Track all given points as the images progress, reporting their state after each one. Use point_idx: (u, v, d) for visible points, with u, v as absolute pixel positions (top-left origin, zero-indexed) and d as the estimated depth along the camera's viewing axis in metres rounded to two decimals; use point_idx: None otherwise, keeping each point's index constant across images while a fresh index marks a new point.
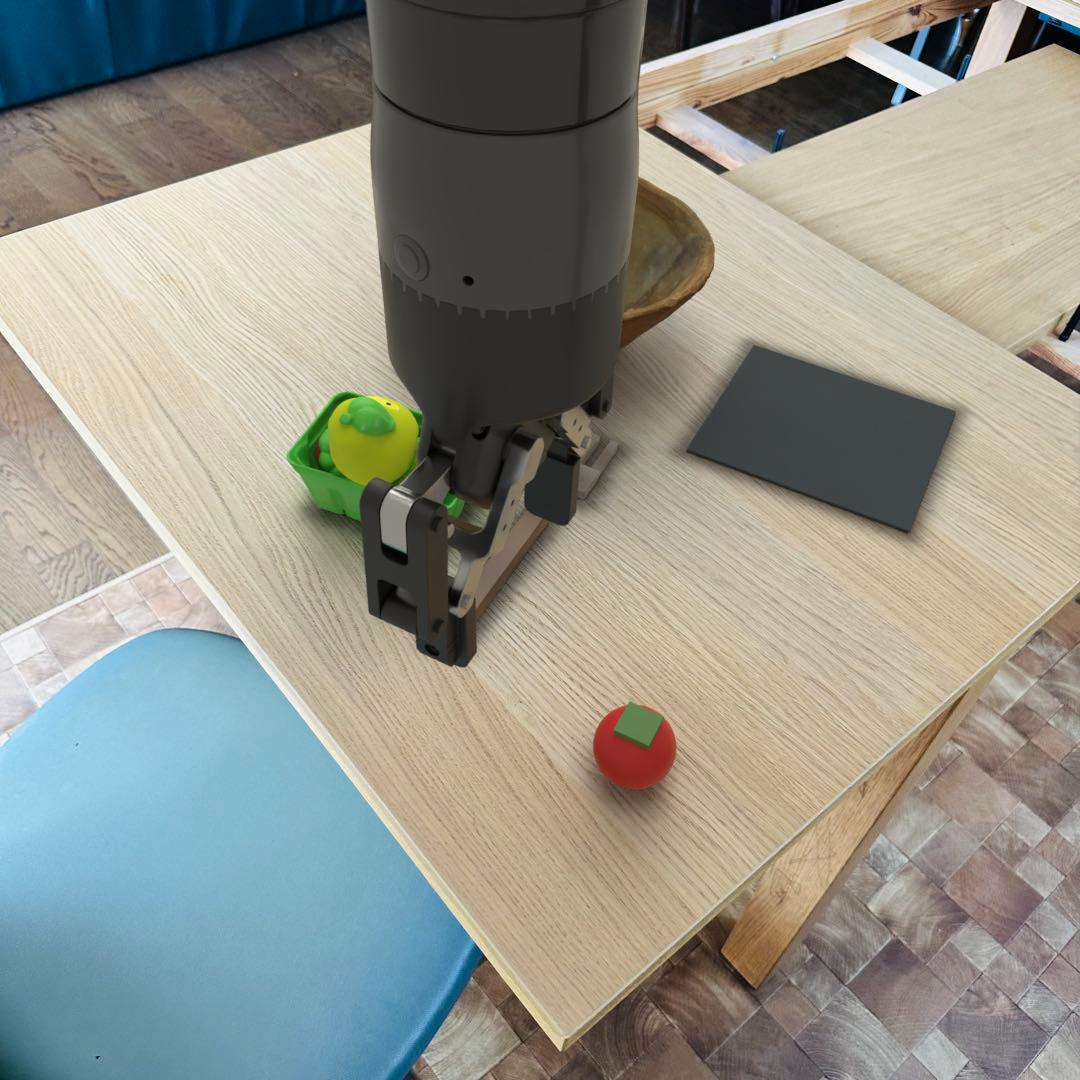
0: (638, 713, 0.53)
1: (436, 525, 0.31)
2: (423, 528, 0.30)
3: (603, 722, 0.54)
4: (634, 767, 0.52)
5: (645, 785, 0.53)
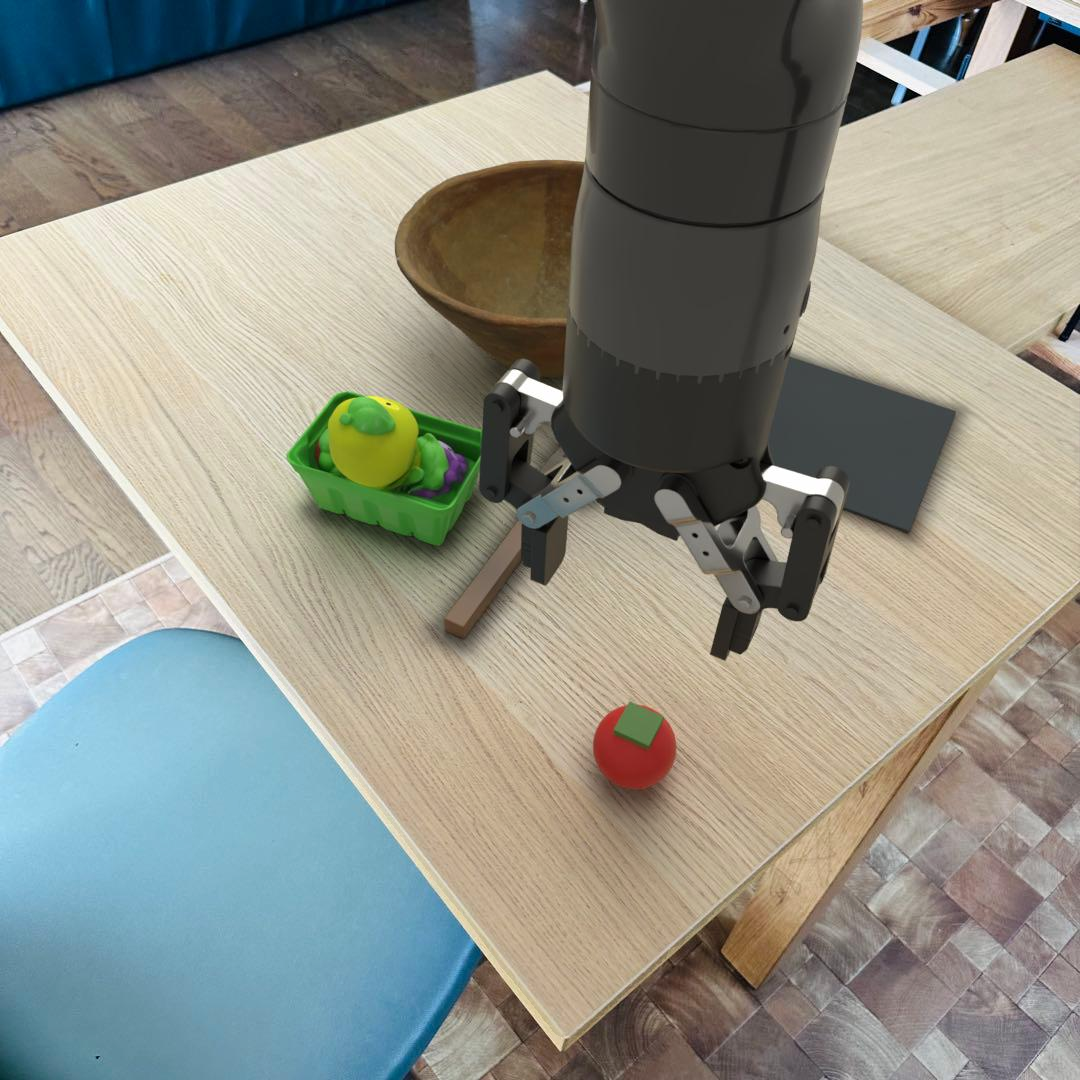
0: (638, 713, 0.53)
1: (491, 402, 0.39)
2: None
3: (603, 722, 0.54)
4: (634, 767, 0.52)
5: (645, 785, 0.53)
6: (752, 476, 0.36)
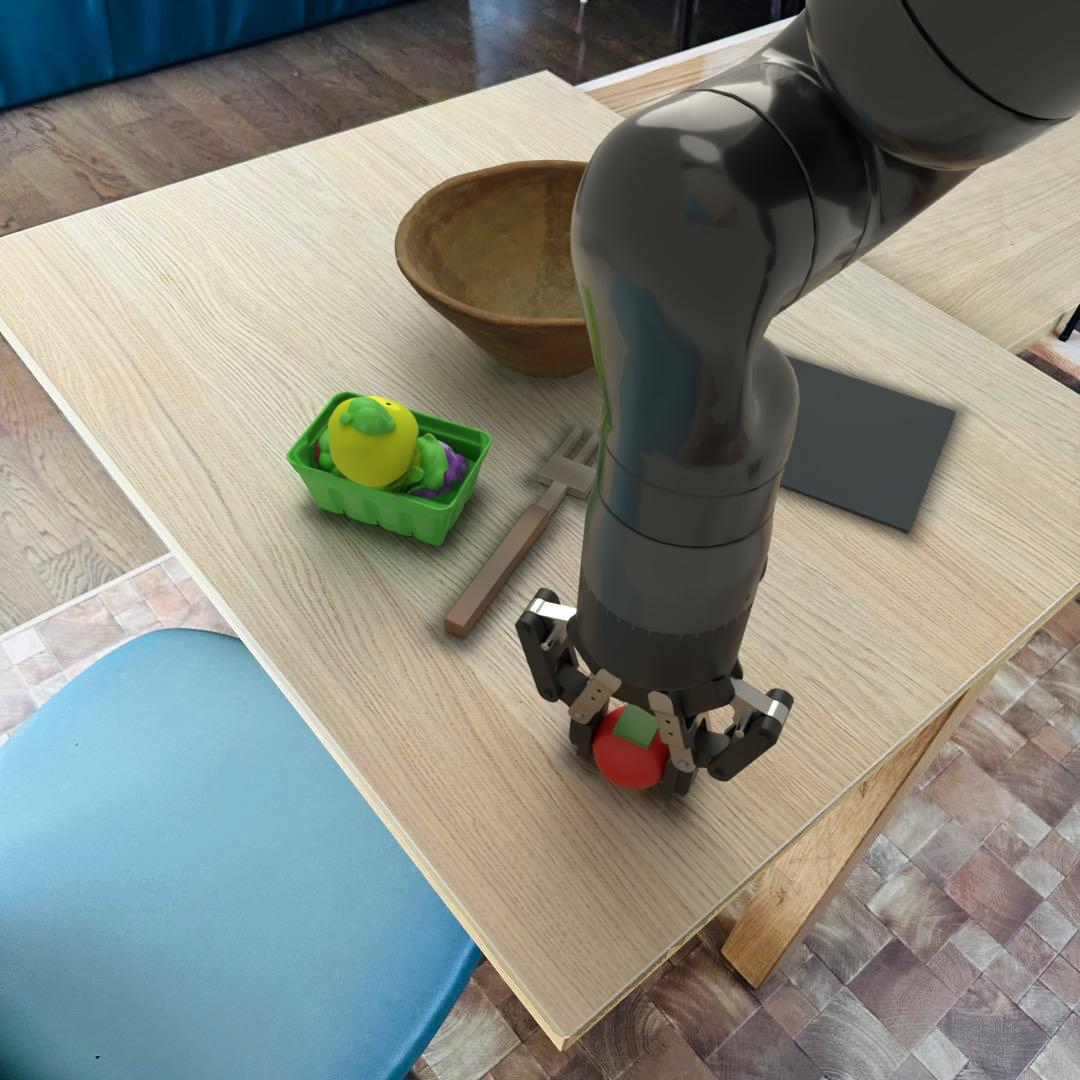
0: (638, 713, 0.53)
1: (520, 628, 0.50)
2: None
3: (602, 723, 0.54)
4: (633, 767, 0.52)
5: (645, 785, 0.53)
6: (729, 692, 0.46)
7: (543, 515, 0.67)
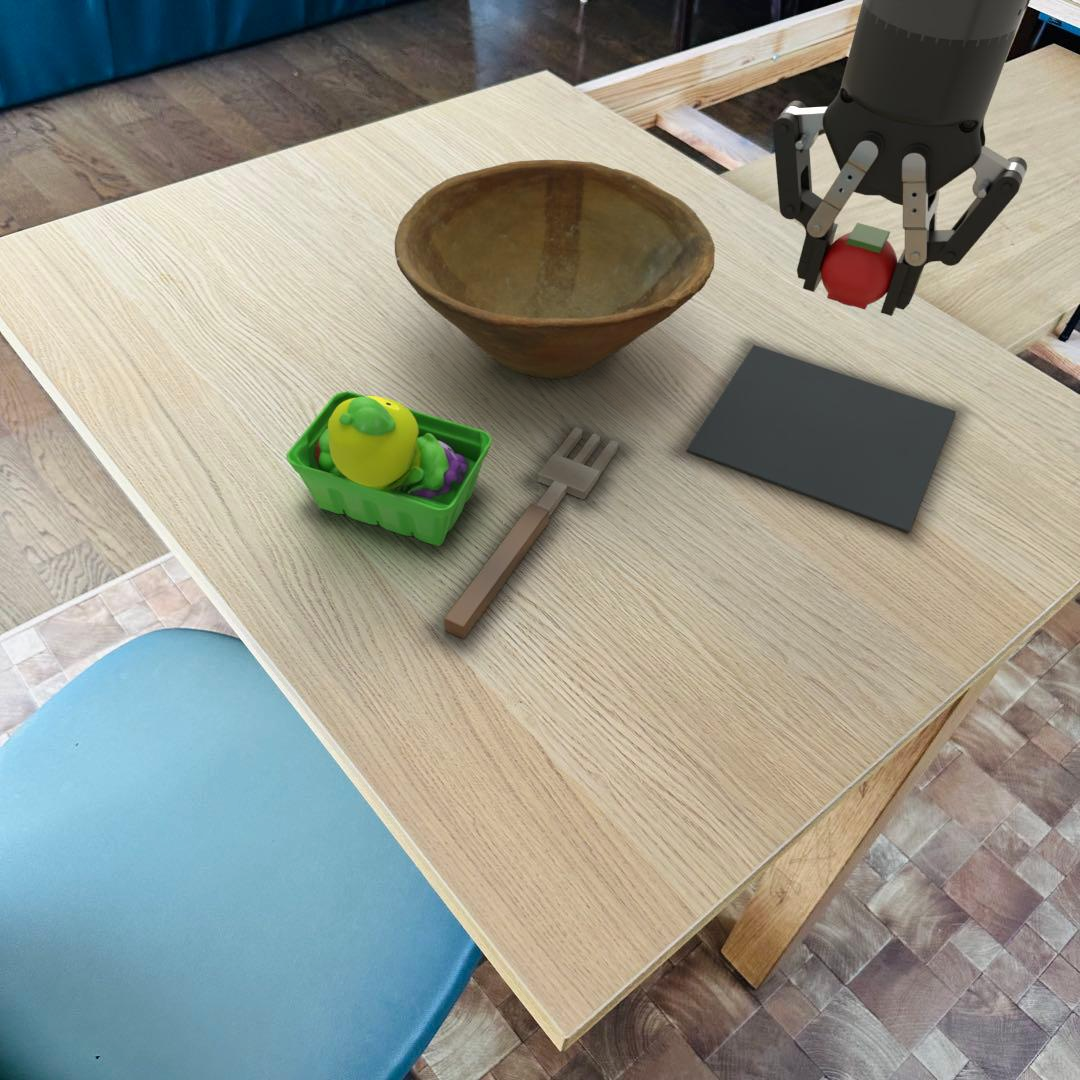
0: (867, 229, 0.60)
1: (778, 126, 0.57)
2: None
3: (832, 244, 0.61)
4: (866, 270, 0.59)
5: (873, 293, 0.60)
6: (978, 146, 0.53)
7: (543, 515, 0.67)
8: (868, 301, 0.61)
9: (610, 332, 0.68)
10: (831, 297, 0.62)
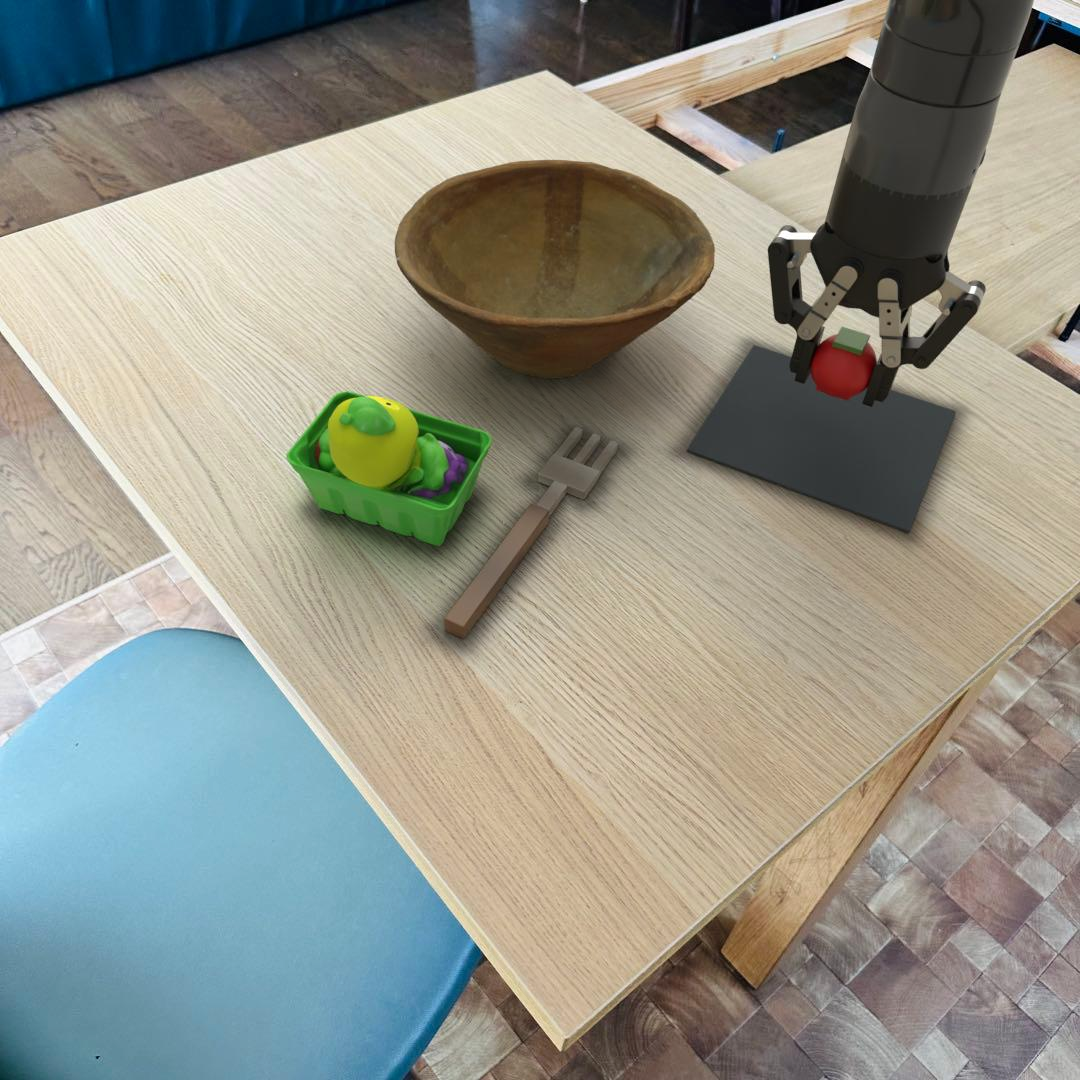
0: (850, 333, 0.69)
1: (772, 249, 0.66)
2: None
3: (820, 345, 0.70)
4: (849, 370, 0.68)
5: (855, 388, 0.69)
6: (942, 273, 0.62)
7: (543, 515, 0.67)
8: (851, 394, 0.70)
9: (610, 332, 0.68)
10: (819, 389, 0.71)
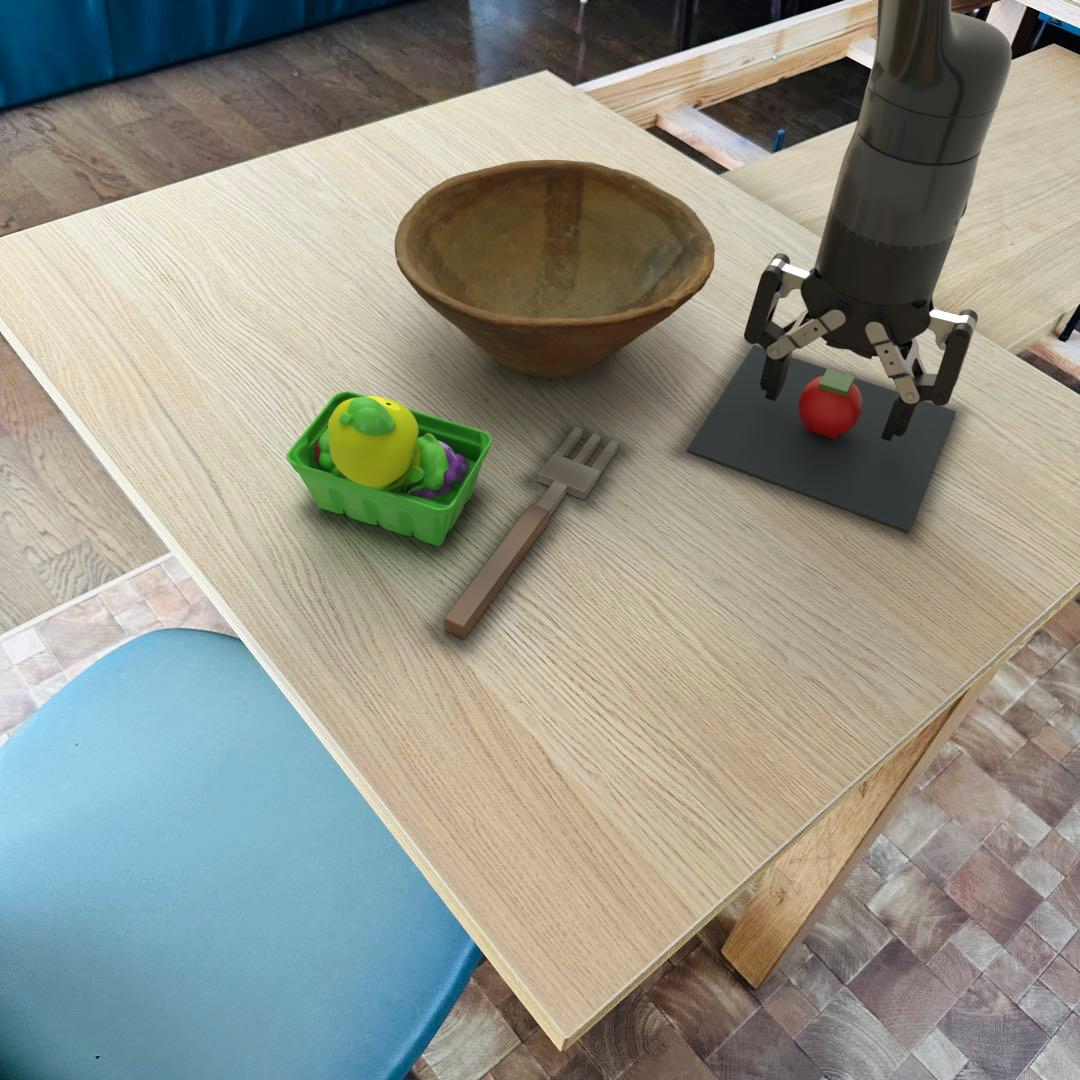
0: (835, 374, 0.72)
1: (766, 276, 0.67)
2: None
3: (807, 386, 0.73)
4: (835, 410, 0.71)
5: (841, 428, 0.72)
6: (924, 312, 0.64)
7: (543, 515, 0.67)
8: (838, 433, 0.73)
9: (610, 332, 0.68)
10: (807, 429, 0.74)
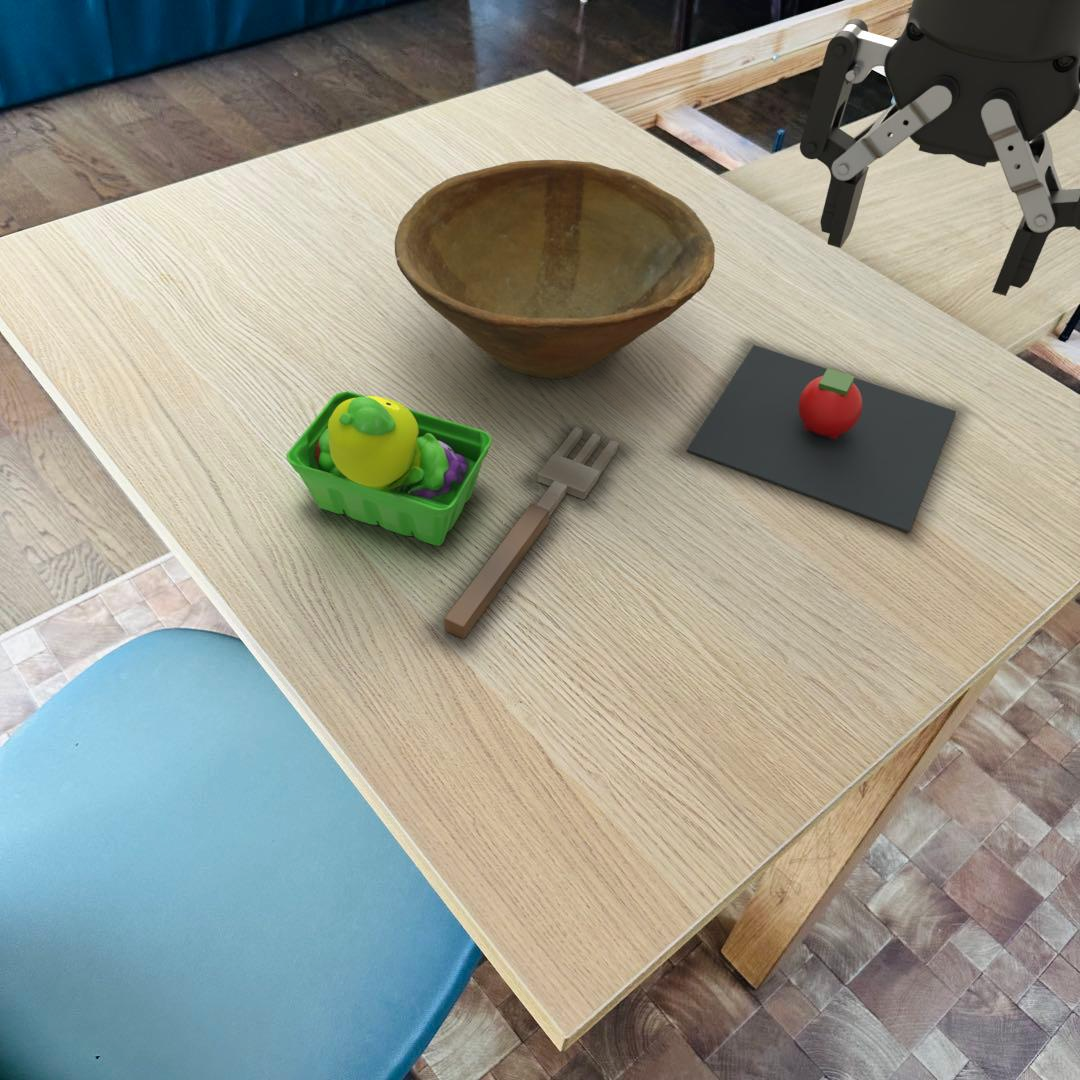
0: (835, 374, 0.72)
1: (835, 45, 0.47)
2: None
3: (807, 386, 0.73)
4: (835, 410, 0.71)
5: (841, 428, 0.72)
6: (1072, 80, 0.44)
7: (543, 515, 0.67)
8: (838, 433, 0.73)
9: (610, 332, 0.68)
10: (807, 428, 0.74)
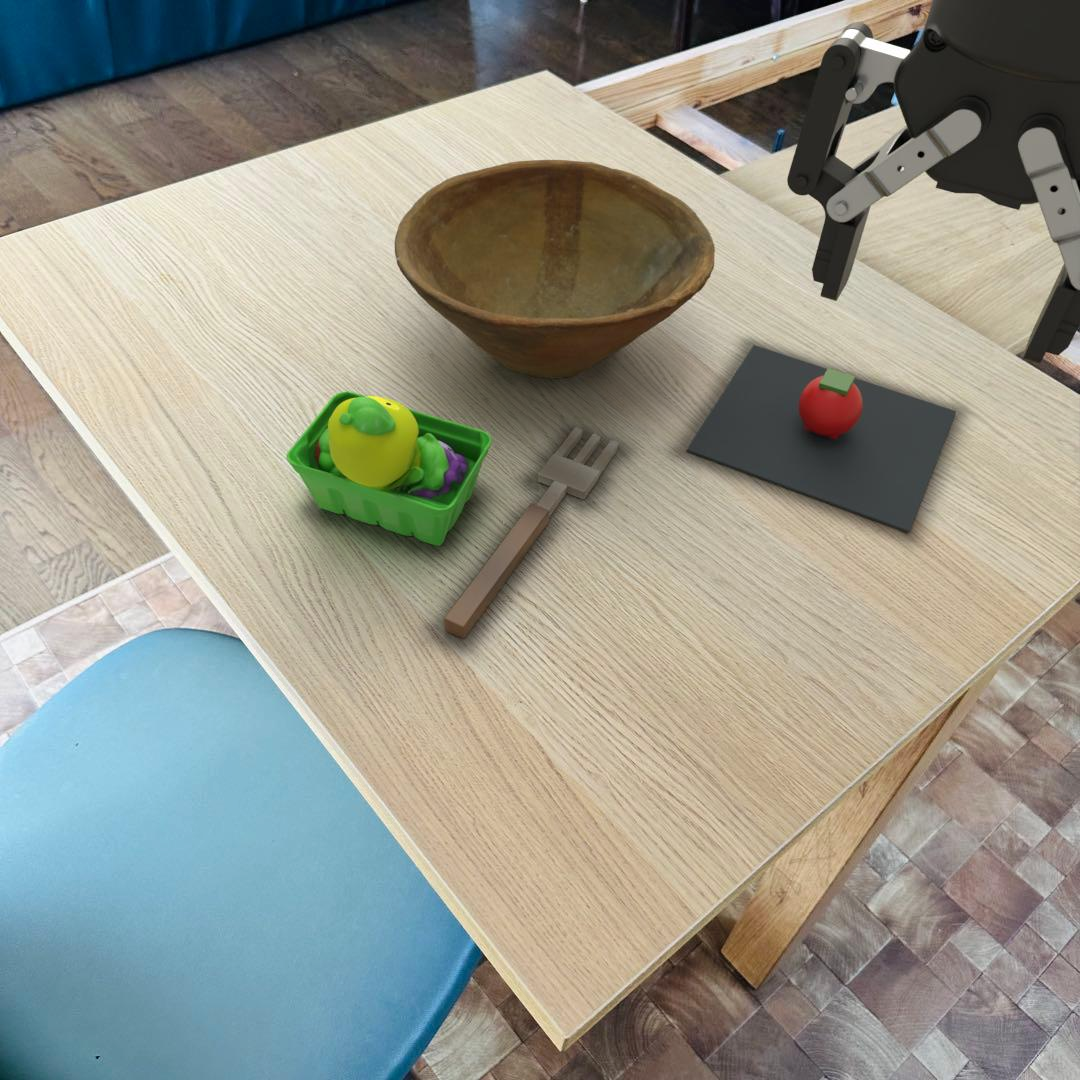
0: (835, 374, 0.72)
1: (833, 57, 0.37)
2: None
3: (807, 386, 0.73)
4: (835, 409, 0.71)
5: (841, 427, 0.72)
6: None
7: (543, 515, 0.67)
8: (838, 433, 0.73)
9: (610, 332, 0.68)
10: (807, 428, 0.74)
